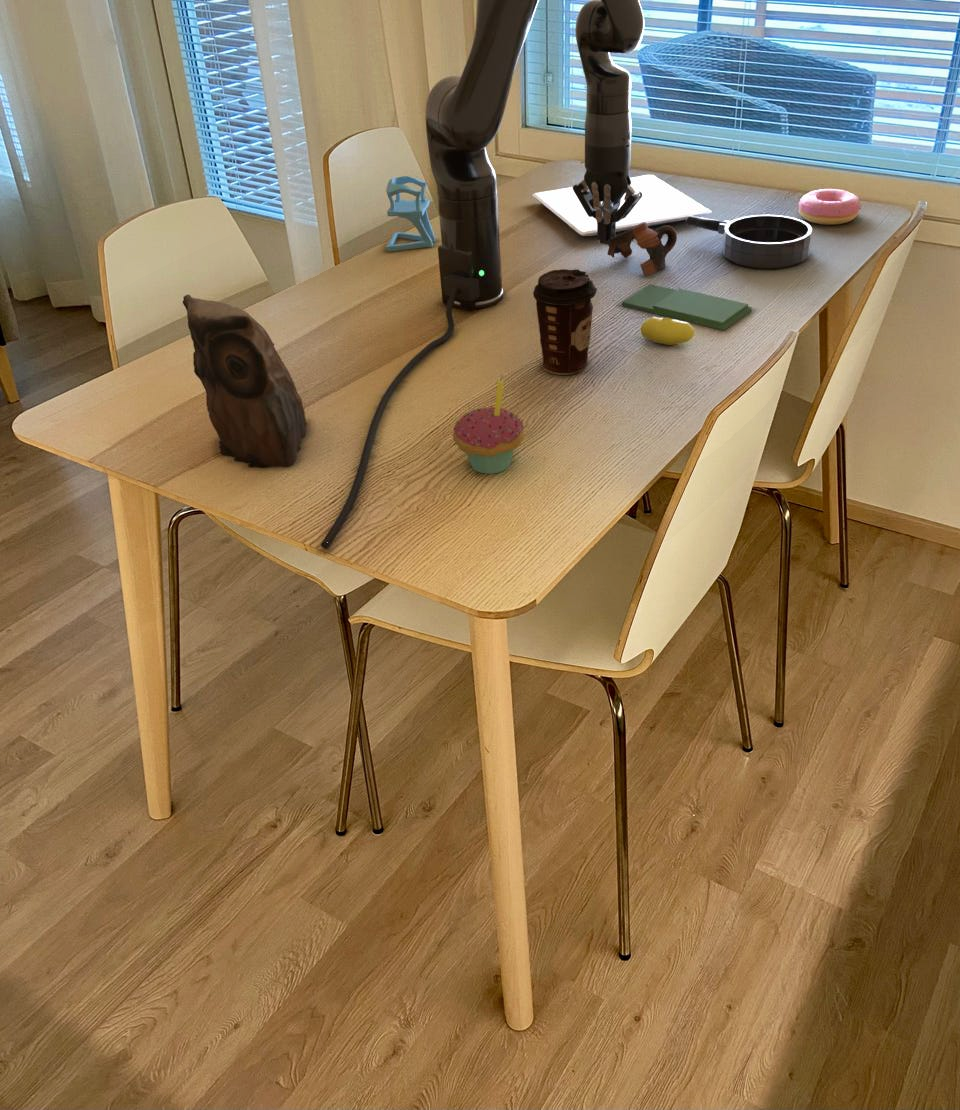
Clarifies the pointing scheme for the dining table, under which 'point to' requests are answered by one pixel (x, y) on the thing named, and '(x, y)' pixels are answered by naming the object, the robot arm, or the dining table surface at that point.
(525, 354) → the dining table surface
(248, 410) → the owl
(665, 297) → the cloth
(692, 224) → the pan handle
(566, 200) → the white rectangular board
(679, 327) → the lemon
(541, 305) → the coffee cup
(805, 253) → the pan
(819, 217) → the doughnut
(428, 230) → the chair
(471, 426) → the cupcake
